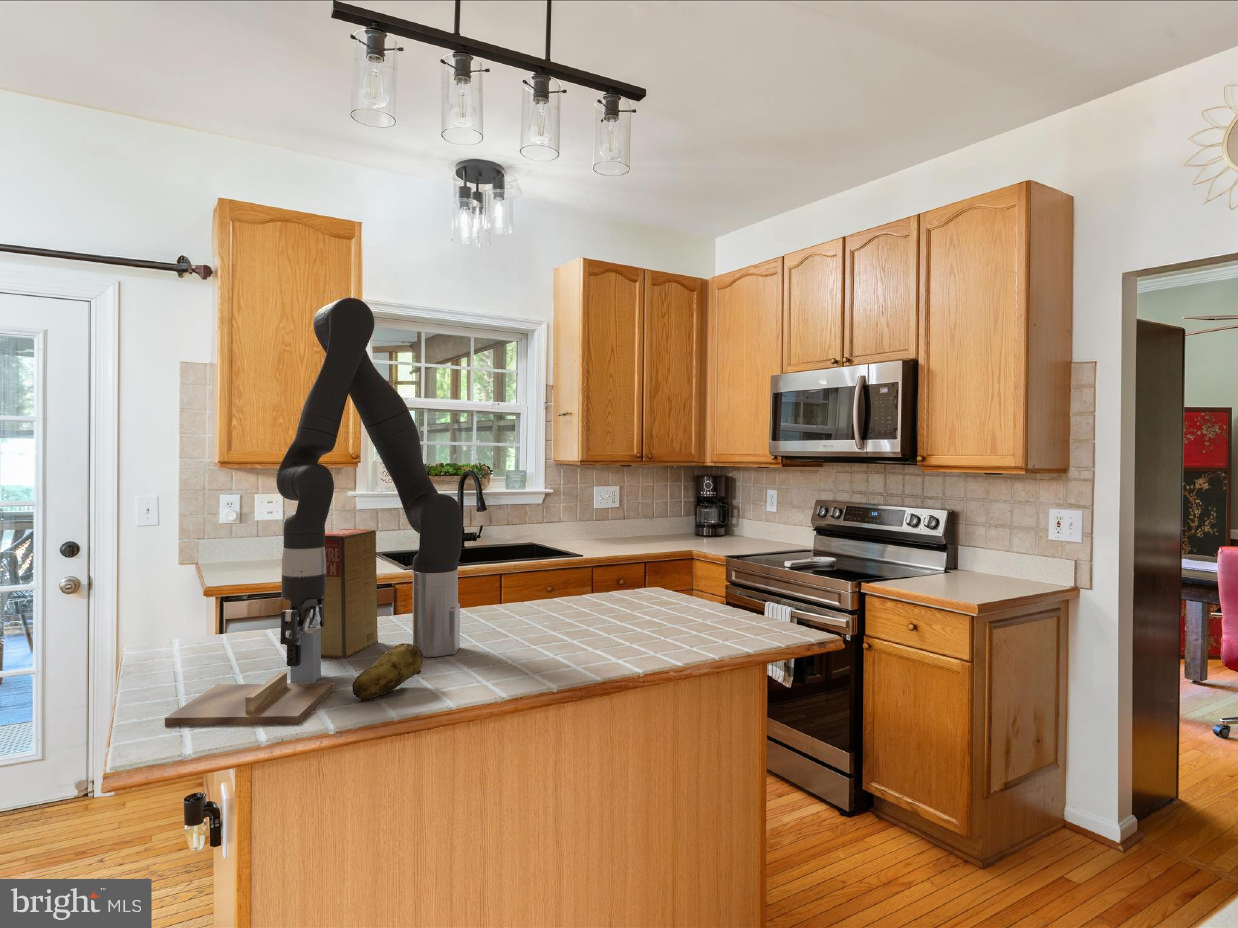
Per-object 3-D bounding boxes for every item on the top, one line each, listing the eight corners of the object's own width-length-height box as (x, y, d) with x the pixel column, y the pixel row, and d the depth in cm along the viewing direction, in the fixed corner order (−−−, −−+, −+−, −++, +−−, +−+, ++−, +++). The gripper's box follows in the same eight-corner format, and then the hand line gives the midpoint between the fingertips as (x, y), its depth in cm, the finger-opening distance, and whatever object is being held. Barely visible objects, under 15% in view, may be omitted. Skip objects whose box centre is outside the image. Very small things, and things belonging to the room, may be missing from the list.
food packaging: (341, 639, 163) (341, 527, 162) (380, 641, 161) (379, 528, 160) (304, 655, 150) (303, 534, 149) (345, 658, 148) (345, 535, 147)
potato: (343, 693, 127) (343, 647, 127) (416, 680, 134) (416, 637, 134) (356, 707, 120) (356, 658, 120) (432, 692, 127) (432, 647, 127)
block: (320, 676, 136) (320, 627, 136) (313, 682, 132) (312, 632, 132) (299, 676, 136) (298, 627, 136) (290, 683, 132) (290, 633, 132)
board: (333, 689, 128) (333, 668, 128) (297, 723, 112) (297, 699, 112) (217, 691, 128) (217, 670, 127) (164, 725, 112) (164, 701, 111)
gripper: (309, 578, 127) (308, 670, 127) (338, 565, 141) (337, 649, 141) (266, 577, 127) (265, 670, 127) (298, 565, 141) (298, 649, 141)
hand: (303, 659), depth 134 cm, fingers open, 8 cm apart
